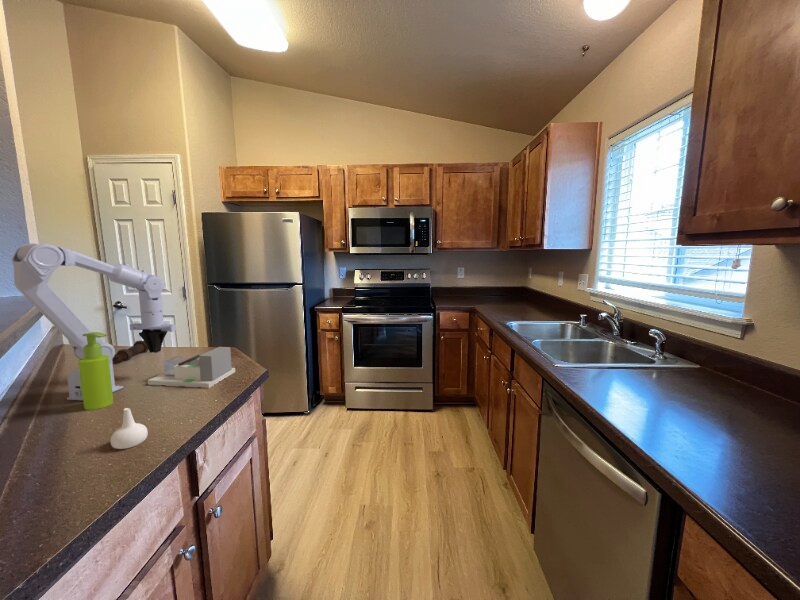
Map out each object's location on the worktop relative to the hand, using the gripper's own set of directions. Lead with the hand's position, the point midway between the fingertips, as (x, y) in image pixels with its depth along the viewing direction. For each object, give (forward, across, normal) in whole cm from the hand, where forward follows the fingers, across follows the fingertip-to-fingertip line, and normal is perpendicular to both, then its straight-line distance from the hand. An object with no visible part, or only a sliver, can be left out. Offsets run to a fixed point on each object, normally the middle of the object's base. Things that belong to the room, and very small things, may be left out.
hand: (155, 351), depth 108 cm
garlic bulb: (+9, -25, +36) cm, 45 cm away
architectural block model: (+8, -13, 0) cm, 15 cm away
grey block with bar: (+7, -9, 0) cm, 11 cm away
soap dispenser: (+9, -2, +21) cm, 23 cm away
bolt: (+9, +26, -16) cm, 32 cm away
